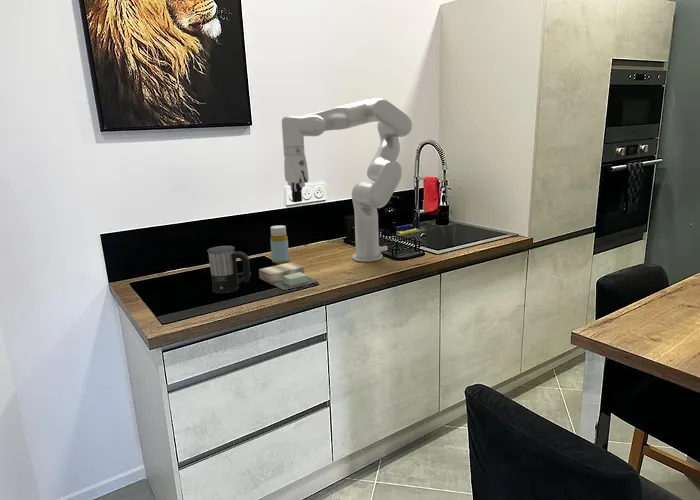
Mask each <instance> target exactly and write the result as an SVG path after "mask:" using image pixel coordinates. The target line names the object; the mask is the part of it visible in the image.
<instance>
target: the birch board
mask: <svg viewBox="0 0 700 500" xmlns="http://www.w3.org/2000/svg"><path fill="white" fill-rule="evenodd" d="M304 269H305V267H304V266H303V265H300V264H298V263H295V262H293V261H291V262H288V263H285V264H275V265H272V266H269V267H268V266H267V267H263V268H259V269H258V275H259V277H258V278H259V279H260V280H263V281H264V282H266V283H268V284H270V285H272V284H271V283H274V282H278V281H282V280H283V276H286V275H290V274H294V273H298V272H301V273H303V274H305V270H304Z"/></svg>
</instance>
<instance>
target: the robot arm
mask: <svg viewBox="0 0 700 500" xmlns="http://www.w3.org/2000/svg"><path fill="white" fill-rule="evenodd" d="M373 122H375V123H376V122H377V127H376V128H377V131H378V135H379V140H380V143H379V146H378V148H377V151H376V153H375V155H374V157H373V158H372V159H371V162H370V164H369V165H368V167H367V171H366V176H367V178H368V179H369V180H370V181H372V182H369V181H362V182H361V181H360V182H358V183H356V184H355V185H354V186H353V188H352V191H351V200H352V201H351V202H352V205H353V210H354V232H355V233H354V234H355V235H354V236H355V253H353V254H352V256H351V257H352V259H353V261H355V262H356V261H357V262H361V263H368V262H369V263H371V262H377V261H380V260H382V259H383V254H382V252H385V251H388V246H387V245H384V246H381V245H379V213H378V209H381V208H384V207H385V206H387V204H388V202H389V201H390V199H391V198H392V196H393V194H394V192H395V191H396V189H397V187H398V185H399V183H400V181H401V178H402V174H403V170H402V165H401V164H400V163H399V162H398V161H397V160H398V158H399V155H400V151H401V145H400V144H401V143H400V140H399V138H401V137H402V138H403V137H406V136H407V135H409V134H410V133H411V131H412V129H413V123H412V120H411V118H410V117H409V115H407V114H406V113H405V112H404V111H402V110H401V109H400V108H398V107H397V106H396V105H394V104H393V103H391V102H390V101H388V100H387V99H384V98H382V97H381V98H371V99H365V100H360V101H356V102H353V103H349V104H344V105H340V106H336V107H333V108H329V109H325V110H322V111H317V112H314V113H309V114H305V115H302V116H297V115H295V116H294V115H293V116H292V115H291V116H283V117H282V119H281V132H282V146H283V147H282V149H283V157H284V161H283V164H284V166H283V167H284V179H285V182H287V185H288V186H290V191H291V198H292V202H293V203H300V202H303V196H302V195H303V194H302V191H303V188H304V187H306V183H308V182H309V169H308V163H307V158H306V154H305V141H304V140H305V139H304V138H305V137H319V136H321V135H322V134H323V133H325V132H327V131H338V130H341V131H342V130H346V129H350V128H354V127H358V126H361V125H362V126H363V125H366V124H369V123H373Z"/></svg>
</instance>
